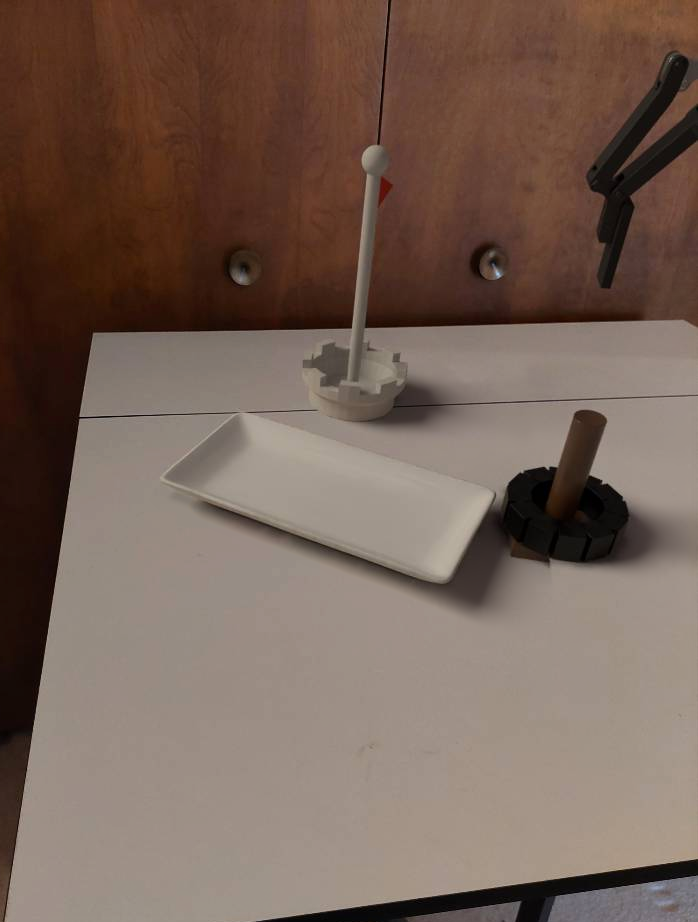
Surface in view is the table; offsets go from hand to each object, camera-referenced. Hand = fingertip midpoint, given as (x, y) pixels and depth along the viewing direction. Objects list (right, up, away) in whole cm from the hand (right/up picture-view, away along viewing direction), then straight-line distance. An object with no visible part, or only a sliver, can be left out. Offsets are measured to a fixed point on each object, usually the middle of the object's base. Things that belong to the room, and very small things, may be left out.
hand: (688, 291), depth 66 cm
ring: (-5, -19, +16) cm, 25 cm away
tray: (-29, -17, +19) cm, 39 cm away
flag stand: (-25, -2, +37) cm, 45 cm away
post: (-5, -20, +17) cm, 27 cm away
